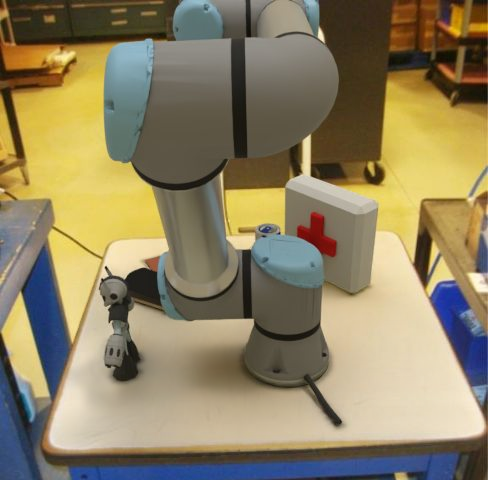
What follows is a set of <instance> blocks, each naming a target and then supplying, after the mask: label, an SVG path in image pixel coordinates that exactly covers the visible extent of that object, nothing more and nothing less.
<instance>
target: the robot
mask: <svg viewBox="0 0 488 480" xmlns="http://www.w3.org/2000/svg"><path fill="white" fill-rule="evenodd" d="M104 271H105V272H106V274H107V275H108V276H106V277H104V278H103V277H101V278H100V282H99V285H98V291H99V295H100V296H101V297H102V301H103V306H104V307H105V308H107V307H108V308H107V312H108V319H107V321H108V325H109V324H111V326H112V329H113V333H112V334H110V335H109V337H108V339H107V340H106V344H105V347H104V354H103V361H104V362H103V363H104V367H107V369H111V368H112V367H113V368H114V370H113V371H112V377H113V378H114V379H115V381H119V382H126V381H129V380H133V379H135V378H136V377H137V375H138V374H139V369H138V366H137V363H139V362H140V361H141V357H140V353H139V350H138V347H137V345H136V343H135V341H134V339H132V336H131V333H130V328H131V327H130V323H129V313H131V312H132V310H133V309H134V306H135V301H134V300H133V298H131V296H130V294H129V286H128V284H127V282H126V281H125V278H124V277H121V276H119V275H115V274H113V273H112V272H111V270H110V269H109V267H108V265H105V266H104Z"/></svg>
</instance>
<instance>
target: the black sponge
mask: <svg viewBox="0 0 488 480" xmlns="http://www.w3.org/2000/svg"><path fill="white" fill-rule="evenodd" d="M124 280H125V281H126V282H127V284H128V286H129V294H130V296H131V298H133V301H134V302H137V303H140V304H144V305H146V306H149V307H153V308H154V309H155V308H156V309H160V310H161V311H164V309H163V307H162V304H161V300H160V298H161V297H160V294H159V290H158V280H157V272H156V271H153V270H151V269H150V268H148V267H143V266H142V267H140V268H136V269H134V270H132V271H130V272H128V273H127V275H126V277H125V278H124Z"/></svg>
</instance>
